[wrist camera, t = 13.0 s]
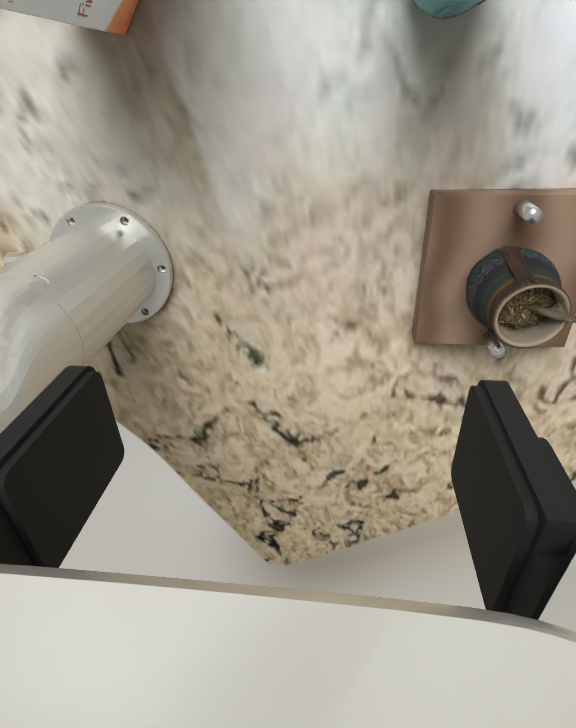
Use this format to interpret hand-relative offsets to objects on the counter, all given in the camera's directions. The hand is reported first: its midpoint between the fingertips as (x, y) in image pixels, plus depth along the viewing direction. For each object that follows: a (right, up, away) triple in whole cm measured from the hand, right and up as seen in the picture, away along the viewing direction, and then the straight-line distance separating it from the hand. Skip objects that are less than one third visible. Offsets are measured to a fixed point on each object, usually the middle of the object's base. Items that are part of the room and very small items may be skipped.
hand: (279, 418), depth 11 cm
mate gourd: (+20, +9, +28) cm, 36 cm away
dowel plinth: (+20, +10, +30) cm, 38 cm away
